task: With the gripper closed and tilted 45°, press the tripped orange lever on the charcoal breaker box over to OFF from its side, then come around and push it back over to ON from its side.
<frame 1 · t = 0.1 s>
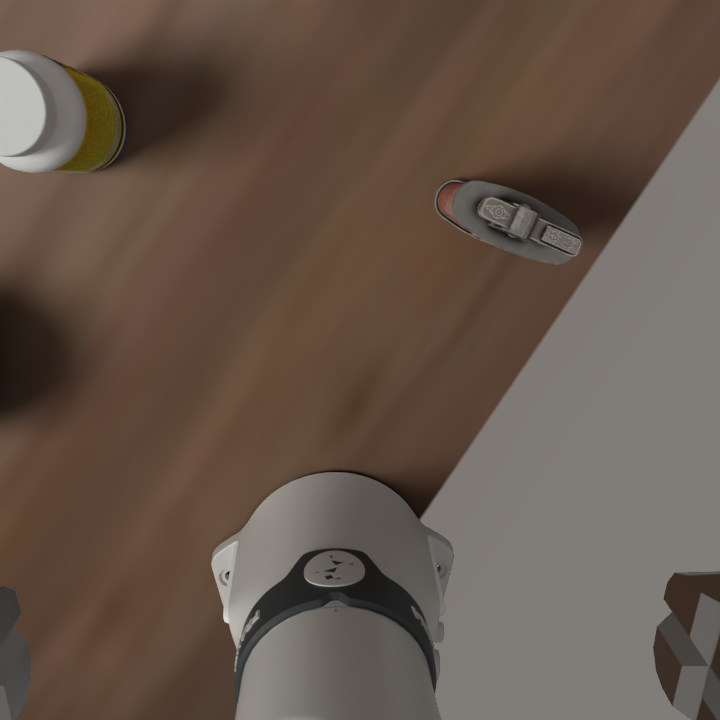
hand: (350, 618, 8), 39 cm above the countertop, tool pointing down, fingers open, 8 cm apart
pill bottle: (80, 124, 43), on the countertop
lighter: (486, 216, 46), on the countertop
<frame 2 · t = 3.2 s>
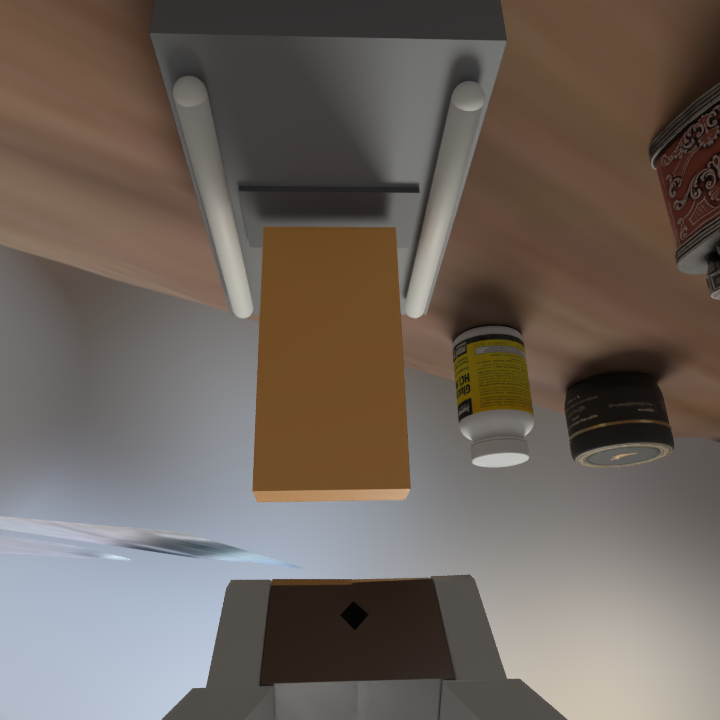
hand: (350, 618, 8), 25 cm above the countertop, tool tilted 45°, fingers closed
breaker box: (329, 119, 34), on the countertop
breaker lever: (330, 356, 28), point 13 cm above the countertop, hinge at 0.0°
pill bottle: (486, 336, 58), on the countertop
jar: (609, 385, 70), on the countertop
lighter: (717, 107, 34), on the countertop
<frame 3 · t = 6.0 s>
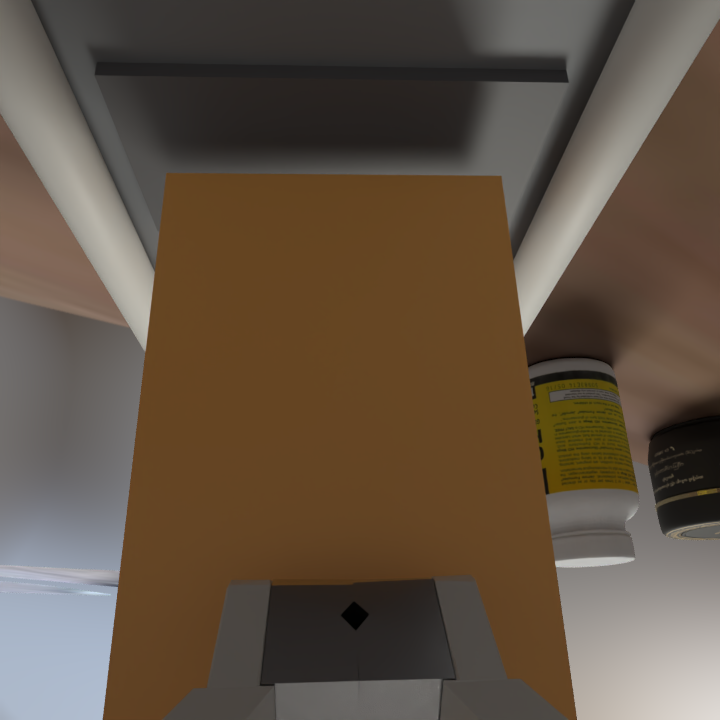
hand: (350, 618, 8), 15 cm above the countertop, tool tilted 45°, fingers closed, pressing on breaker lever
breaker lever: (339, 524, 10), point 13 cm above the countertop, hinge at 0.4°, touching gripper
pill bottle: (559, 371, 40), on the countertop
jar: (709, 429, 52), on the countertop
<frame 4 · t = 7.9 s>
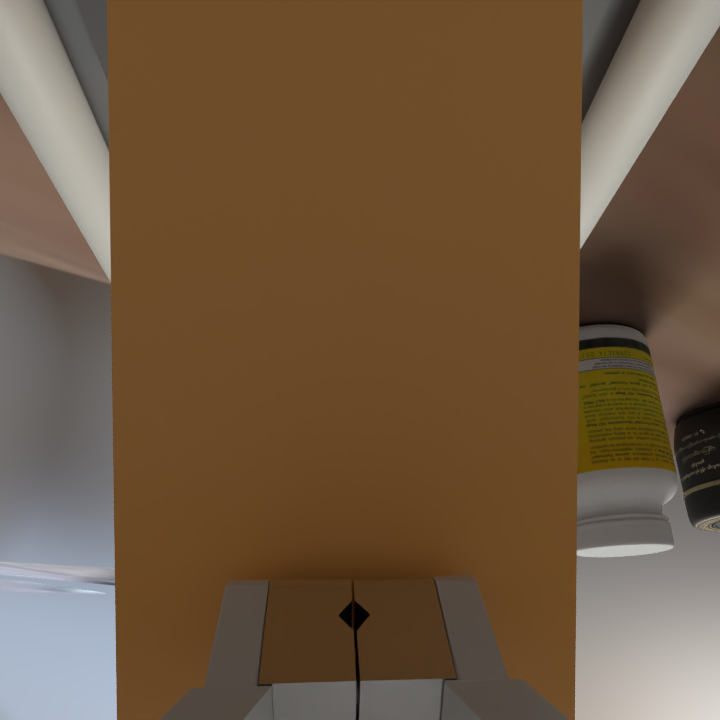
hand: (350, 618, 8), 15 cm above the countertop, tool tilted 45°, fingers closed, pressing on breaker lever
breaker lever: (347, 452, 9), point 13 cm above the countertop, hinge at 26.3°, touching gripper
pill bottle: (585, 342, 36), on the countertop
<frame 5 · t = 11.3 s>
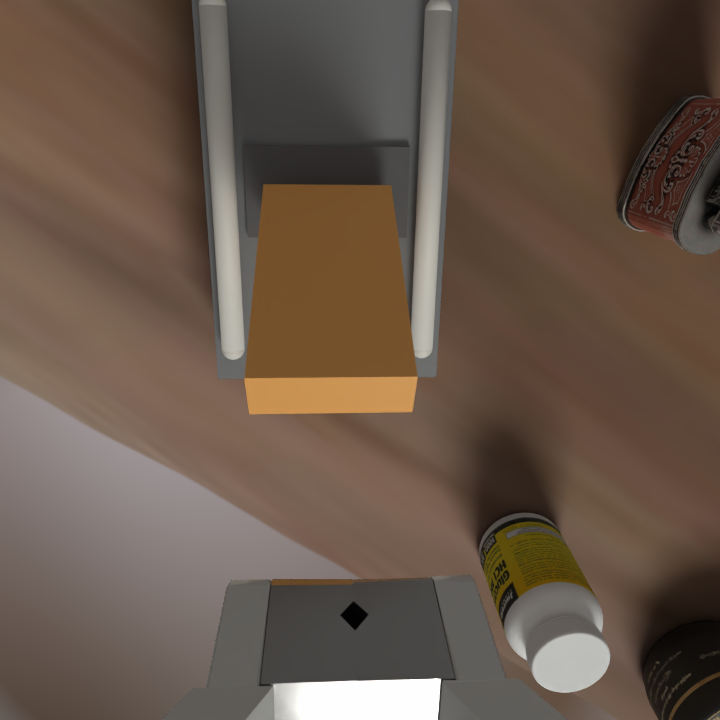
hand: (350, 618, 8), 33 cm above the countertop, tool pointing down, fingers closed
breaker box: (326, 179, 38), on the countertop
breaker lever: (329, 285, 28), point 13 cm above the countertop, hinge at 26.3°
pill bottle: (517, 543, 49), on the countertop
jar: (693, 659, 54), on the countertop
lighter: (661, 164, 39), on the countertop
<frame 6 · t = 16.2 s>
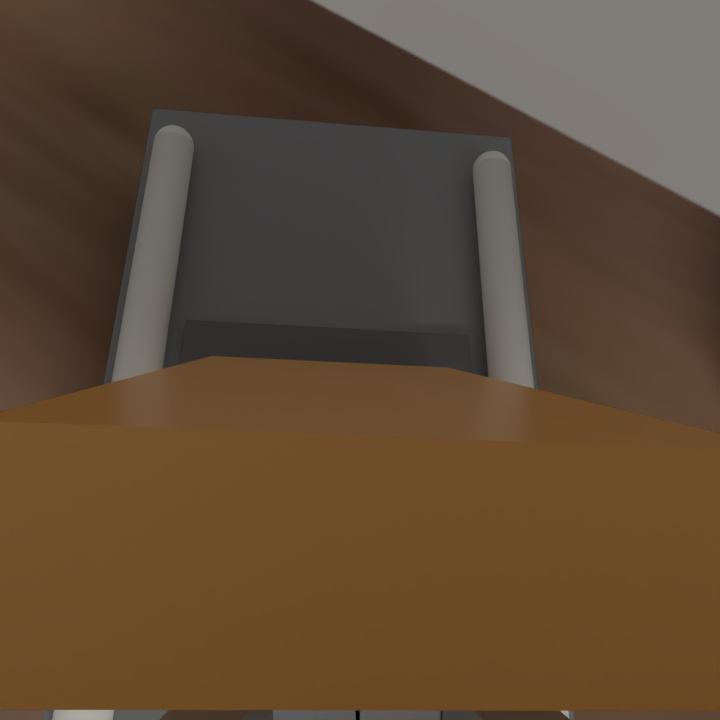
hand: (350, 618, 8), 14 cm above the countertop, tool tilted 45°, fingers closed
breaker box: (318, 462, 23), on the countertop
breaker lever: (345, 439, 11), point 13 cm above the countertop, hinge at 26.3°, touching gripper
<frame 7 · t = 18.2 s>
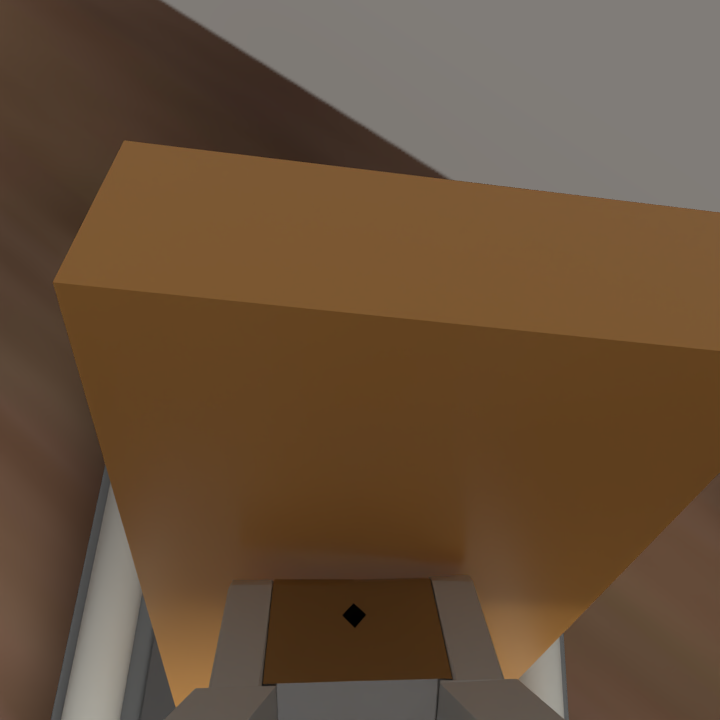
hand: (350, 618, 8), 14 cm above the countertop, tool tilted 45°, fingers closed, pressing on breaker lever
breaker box: (310, 673, 21), on the countertop
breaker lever: (361, 555, 10), point 13 cm above the countertop, hinge at -19.3°, touching gripper
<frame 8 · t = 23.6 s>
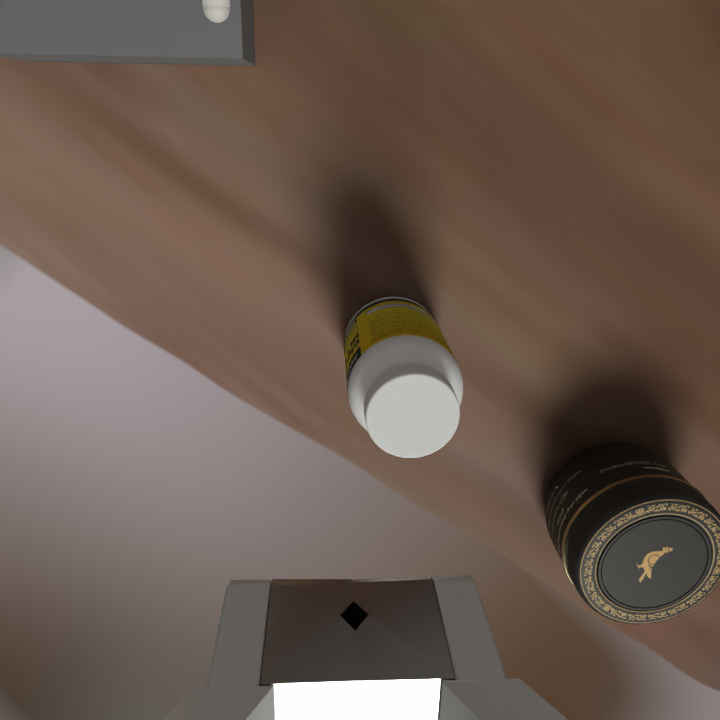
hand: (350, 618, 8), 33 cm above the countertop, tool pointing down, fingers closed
pill bottle: (390, 339, 42), on the countertop
jar: (603, 494, 48), on the countertop
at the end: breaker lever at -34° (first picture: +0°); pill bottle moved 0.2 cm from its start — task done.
